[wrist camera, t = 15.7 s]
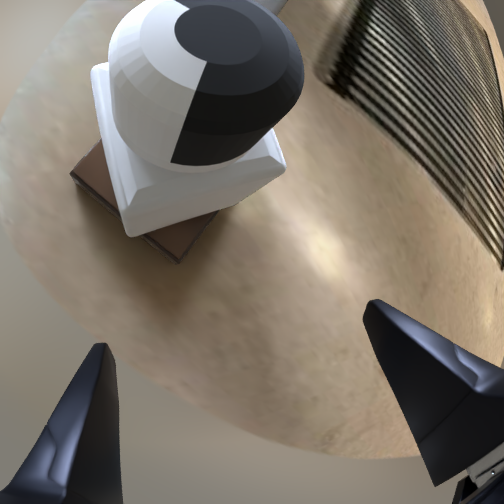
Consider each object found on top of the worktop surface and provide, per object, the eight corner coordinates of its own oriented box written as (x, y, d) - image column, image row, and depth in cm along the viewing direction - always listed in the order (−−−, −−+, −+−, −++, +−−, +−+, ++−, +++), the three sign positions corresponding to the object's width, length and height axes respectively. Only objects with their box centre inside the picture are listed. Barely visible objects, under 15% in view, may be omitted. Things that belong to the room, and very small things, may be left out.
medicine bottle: (205, 106, 19) (281, -29, 8) (238, 204, 20) (366, 126, 8) (99, 131, 17) (82, -19, 5) (127, 239, 17) (110, 179, 6)
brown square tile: (175, 264, 20) (179, 263, 18) (73, 180, 18) (67, 171, 16) (252, 165, 22) (263, 156, 20) (160, 91, 20) (163, 76, 18)
